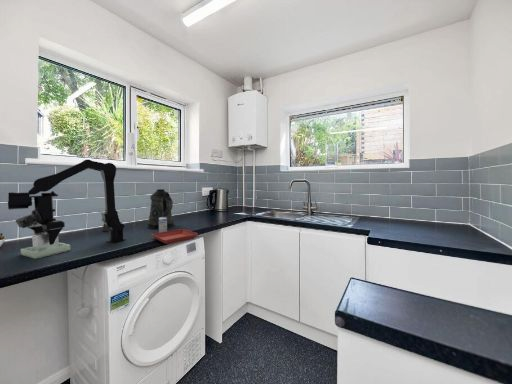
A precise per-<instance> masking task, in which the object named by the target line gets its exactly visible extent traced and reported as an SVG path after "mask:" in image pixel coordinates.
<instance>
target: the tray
mask: <svg viewBox="0 0 512 384" xmlns="http://www.w3.org/2000/svg"><path fill="white" fill-rule="evenodd" d="M69 251H71V244H67V243H64V242H59V247H57V248H53V249H48V250H44V251H40V252H33V246H29V247H24V248H20V255H21V256H23V257H28V258H31V259H34V260H36V259H41V258H44V257H49V256H54V255H57V254H61V253H66V252H69Z"/></svg>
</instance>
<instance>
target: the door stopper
mask: <svg viewBox="0 0 512 384" xmlns="http://www.w3.org/2000/svg"><path fill="white" fill-rule="evenodd" d="M118 213H119V212H118V211H117V214H118ZM118 215H119V214H118ZM119 222H121V221H120V220H119ZM109 229H110V228H109V227H108V226H107V225H105V224H104V223H103V225H102V229H101V230H102V232H103V231H104V232H109Z"/></svg>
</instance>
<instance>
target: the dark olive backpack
mask: <svg viewBox="0 0 512 384" xmlns="http://www.w3.org/2000/svg"><path fill="white" fill-rule="evenodd" d="M149 198H150V199H149V200H150V201H151V202H150V211H149V216H148V219H147V223H146V224H147V227H148V229H152V230H159V218H160V217H166V218H167V229H168V228H173V226H174V224H175V223H174V222H175V220H174V217H173V215H172V209H173V205H174V202H173V199H172V198H171V196H170V193H169V192H167V191H165V189H162V188H160V189H156V191H155V192H154V193H152V194H151V195H150V196H149Z"/></svg>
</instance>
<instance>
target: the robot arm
mask: <svg viewBox="0 0 512 384" xmlns="http://www.w3.org/2000/svg"><path fill="white" fill-rule="evenodd" d="M88 169H89V170H94V171H98V172H100V175H101V178H102V180H103V188H104V189H103V190H104V201H105V202H104V205H105V209H104V210H105V211H104V212H101V221H102V222H103V225H104V224H105V225H107V226H108V227H109V228H110V229H109V231H108V237H109V239H107V240H106V242H108V243H109V242H110V243H117V242H121V241H126V240H127V238H126V237H125V238H124V229H125V227H126V225H125V224H124V223H122V222H121V221H120V217H119V214H117V212H118V211H117V209H116V197H115V196H116V195H115V194H116V193H115V177H116V175H117V166H116V165H115V164H114V163H112V162H107V163H104V162H100V161H96V160H95V161H94V160H91V159H84V160H83V161H81V162H79V163H77V164H75V165H72V166H70V167H67V168H66V169H64V170H61V171H59V172H57V173H53V174H50V175H47V176H44V177H40V178H37V179H36V180H34V181H33V185H32V188H30V189H28V191H26V192H13V191H12V192H8V193H7V194H8V196H7V197H8V200H7V207H8V210H10V211H11V210H25V209H29V207H31V206H33V205H34V209H33V210H31V213H30V214H28V215H25V216H22V217H20V218H18V219H15V223H16V224H17V226H18V228H22V229H25V228H27V229H30V231H33V234H37V233H42V232H46V233H47V236H48V240H49V244H50V245H52V244H54V242H55V240H56V238H57V236H58V237H59V234H60V233H61V231H62V230H63V229H64V228H65V227H66V224H65V222H64V221H63V220H59V219H58V220H56V219H57V218H55V217H54V212H56V209H55V208H54V203H53V202H54V199H53V197H54V198H55V197H58V196H59V194H58V193H55V191H54V190H52V191H51V192H48V191H50V190H51V189H53V188H54V187H56V186H58V185H59V184H60V183H61V182H62V181H64V180H66V179H68V178H71V177H73V176H75V175H77V174H79V173H81V172H84V171H86V170H88ZM39 193H41V194H40V195H37V194H39ZM33 202H34V204H33ZM119 221H120V222H119Z"/></svg>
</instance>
